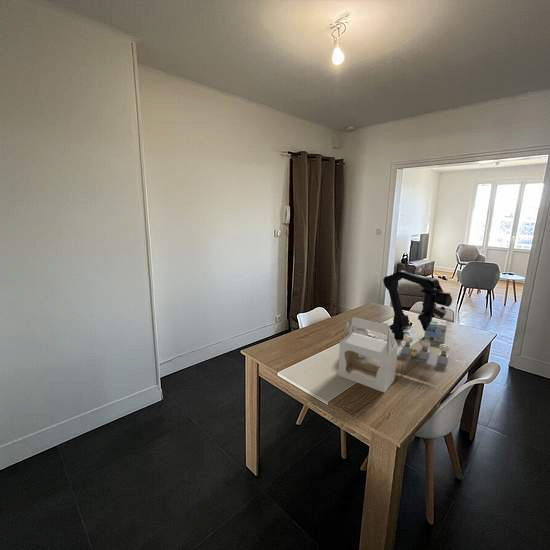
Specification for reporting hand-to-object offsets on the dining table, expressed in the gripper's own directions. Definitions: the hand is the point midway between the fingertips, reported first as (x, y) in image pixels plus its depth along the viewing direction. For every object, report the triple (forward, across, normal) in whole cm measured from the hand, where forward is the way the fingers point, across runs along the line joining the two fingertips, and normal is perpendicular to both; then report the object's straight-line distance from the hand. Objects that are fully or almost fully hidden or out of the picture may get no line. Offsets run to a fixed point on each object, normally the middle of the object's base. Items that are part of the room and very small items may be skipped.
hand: (426, 328), depth 162 cm
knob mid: (+8, -12, -2) cm, 15 cm away
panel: (+12, -12, -2) cm, 17 cm away
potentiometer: (+11, -16, +2) cm, 20 cm away
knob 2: (+8, -12, -11) cm, 18 cm away
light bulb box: (+13, +20, -2) cm, 24 cm away
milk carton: (+13, -28, +26) cm, 40 cm away
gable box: (+13, -48, +15) cm, 52 cm away
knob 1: (+8, -12, +6) cm, 16 cm away
